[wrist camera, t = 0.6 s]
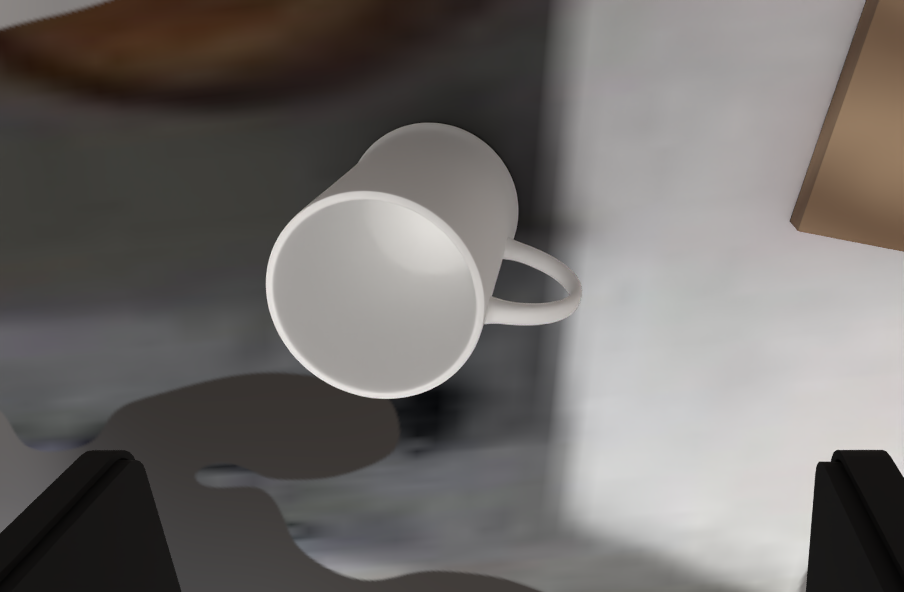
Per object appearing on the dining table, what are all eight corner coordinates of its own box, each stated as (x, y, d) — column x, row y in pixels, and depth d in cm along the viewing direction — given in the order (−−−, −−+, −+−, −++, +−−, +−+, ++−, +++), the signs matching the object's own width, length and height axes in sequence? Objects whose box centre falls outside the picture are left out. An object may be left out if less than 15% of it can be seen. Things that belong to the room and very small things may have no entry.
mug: (608, 176, 37) (617, 262, 26) (548, 330, 40) (534, 463, 29) (372, 97, 37) (283, 149, 26) (332, 257, 41) (239, 362, 30)
